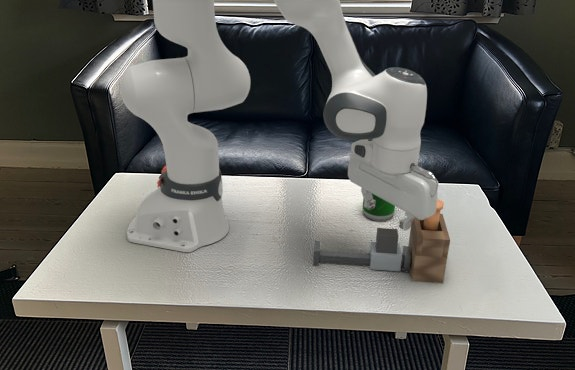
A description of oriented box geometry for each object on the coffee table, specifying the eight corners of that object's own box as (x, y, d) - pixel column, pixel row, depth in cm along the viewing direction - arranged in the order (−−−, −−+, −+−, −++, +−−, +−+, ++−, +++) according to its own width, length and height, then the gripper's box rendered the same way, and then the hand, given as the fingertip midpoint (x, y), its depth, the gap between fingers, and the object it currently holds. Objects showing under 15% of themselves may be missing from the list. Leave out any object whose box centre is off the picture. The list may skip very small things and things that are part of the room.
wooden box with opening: (412, 281, 111) (417, 237, 106) (407, 253, 120) (412, 212, 115) (443, 283, 110) (450, 239, 106) (436, 254, 119) (442, 213, 115)
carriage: (370, 269, 114) (373, 237, 110) (369, 255, 118) (372, 224, 115) (400, 271, 113) (404, 239, 110) (398, 257, 118) (401, 226, 114)
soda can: (393, 224, 131) (398, 177, 125) (360, 220, 132) (364, 174, 126) (394, 208, 137) (399, 163, 132) (363, 205, 138) (367, 160, 133)
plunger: (421, 234, 110) (425, 206, 107) (419, 225, 113) (423, 197, 110) (440, 236, 109) (444, 207, 107) (437, 226, 113) (442, 198, 110)
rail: (313, 265, 115) (313, 250, 114) (314, 254, 119) (314, 240, 117) (409, 272, 114) (411, 257, 112) (407, 260, 117) (409, 246, 116)
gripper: (450, 171, 100) (438, 236, 107) (367, 133, 114) (361, 193, 121) (427, 181, 97) (416, 247, 104) (345, 141, 111) (340, 201, 117)
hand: (386, 217), depth 112 cm, fingers open, 8 cm apart
